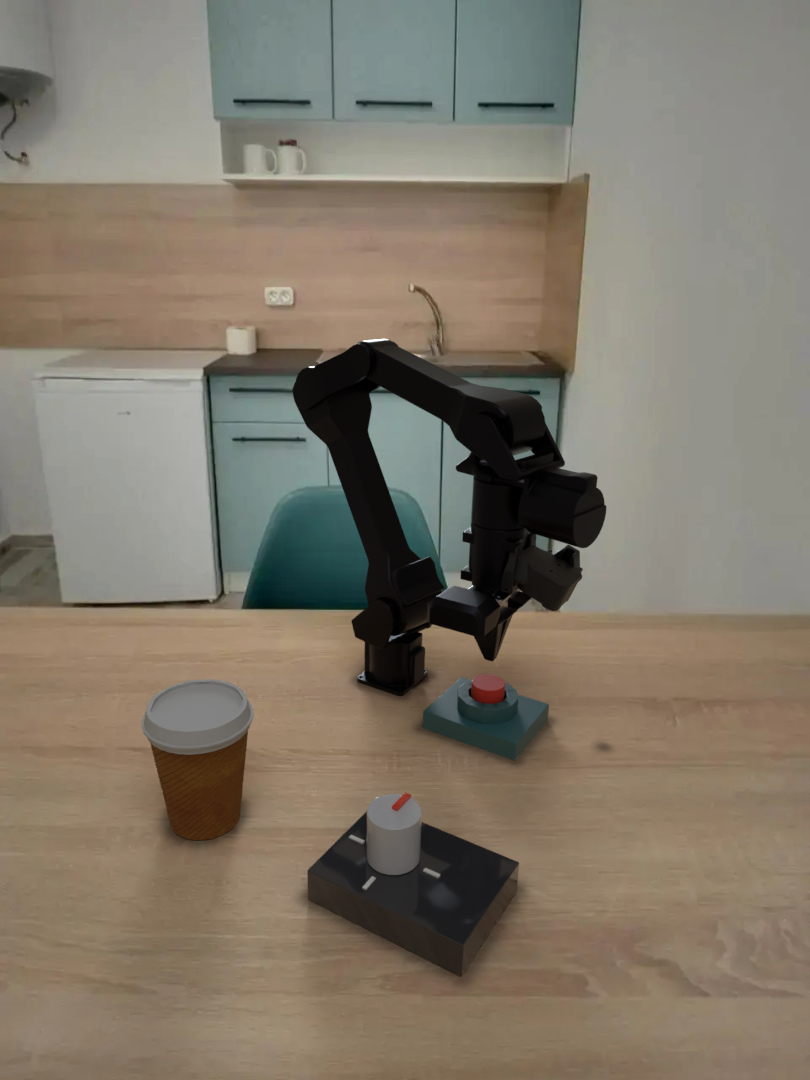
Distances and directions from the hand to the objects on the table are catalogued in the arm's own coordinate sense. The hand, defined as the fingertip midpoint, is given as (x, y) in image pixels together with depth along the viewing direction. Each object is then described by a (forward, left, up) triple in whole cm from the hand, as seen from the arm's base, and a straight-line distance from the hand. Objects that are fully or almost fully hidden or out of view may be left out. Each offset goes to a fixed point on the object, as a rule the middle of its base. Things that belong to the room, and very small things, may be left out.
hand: (490, 659), depth 89 cm
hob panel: (+6, -26, -8) cm, 28 cm away
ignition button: (0, 0, -5) cm, 5 cm away
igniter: (0, 0, -8) cm, 8 cm away
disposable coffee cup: (-15, -28, -8) cm, 33 cm away
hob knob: (+4, -26, -5) cm, 27 cm away
